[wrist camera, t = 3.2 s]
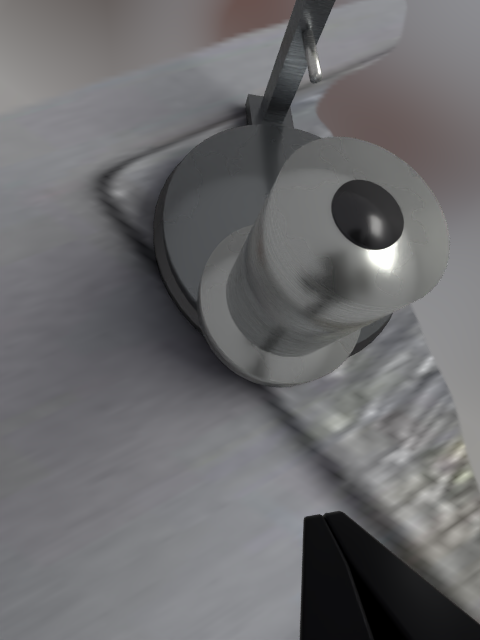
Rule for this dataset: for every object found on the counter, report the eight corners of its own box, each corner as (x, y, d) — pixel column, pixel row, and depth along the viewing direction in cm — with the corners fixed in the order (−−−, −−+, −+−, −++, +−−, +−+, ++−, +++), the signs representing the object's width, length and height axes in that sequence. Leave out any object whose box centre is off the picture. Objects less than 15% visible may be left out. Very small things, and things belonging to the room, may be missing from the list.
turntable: (436, 318, 23) (459, 309, 22) (215, 415, 18) (222, 413, 16) (331, 125, 27) (343, 105, 25) (115, 160, 21) (112, 136, 20)
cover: (372, 353, 19) (529, 295, 11) (235, 414, 17) (315, 394, 9) (307, 222, 21) (405, 92, 13) (172, 258, 18) (191, 120, 10)
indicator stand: (243, 102, 25) (299, -90, 16) (286, 109, 26) (361, -72, 17) (251, 165, 24) (317, -9, 14) (296, 169, 24) (385, 7, 15)
